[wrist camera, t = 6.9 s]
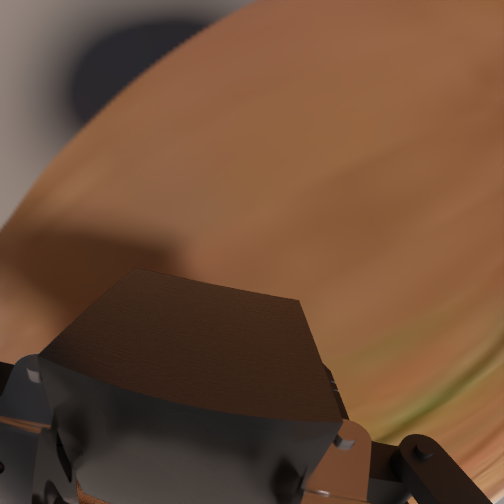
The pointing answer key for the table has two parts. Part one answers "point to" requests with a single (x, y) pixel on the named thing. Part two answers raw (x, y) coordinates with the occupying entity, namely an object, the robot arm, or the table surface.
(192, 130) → the table surface
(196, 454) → the shaft
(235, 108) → the table surface
